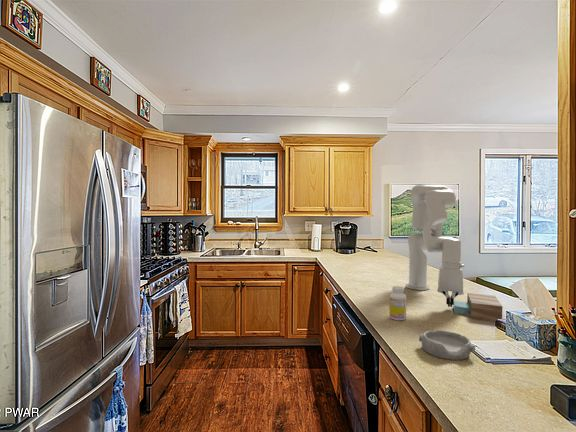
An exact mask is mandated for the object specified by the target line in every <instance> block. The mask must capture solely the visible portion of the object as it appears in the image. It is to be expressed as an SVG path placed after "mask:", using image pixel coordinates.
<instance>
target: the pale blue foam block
mask: <svg viewBox="0 0 576 432" xmlns="http://www.w3.org/2000/svg"><path fill="white" fill-rule="evenodd" d="M465 311H466V312H471V305H470V303H467V301H466V302H465V301H457V300H456V301H455V300H454V305H453V313H454V314H460V315H465Z"/></svg>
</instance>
